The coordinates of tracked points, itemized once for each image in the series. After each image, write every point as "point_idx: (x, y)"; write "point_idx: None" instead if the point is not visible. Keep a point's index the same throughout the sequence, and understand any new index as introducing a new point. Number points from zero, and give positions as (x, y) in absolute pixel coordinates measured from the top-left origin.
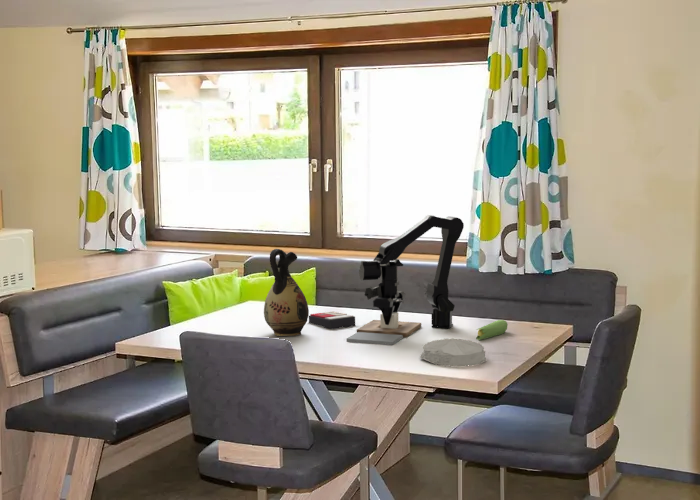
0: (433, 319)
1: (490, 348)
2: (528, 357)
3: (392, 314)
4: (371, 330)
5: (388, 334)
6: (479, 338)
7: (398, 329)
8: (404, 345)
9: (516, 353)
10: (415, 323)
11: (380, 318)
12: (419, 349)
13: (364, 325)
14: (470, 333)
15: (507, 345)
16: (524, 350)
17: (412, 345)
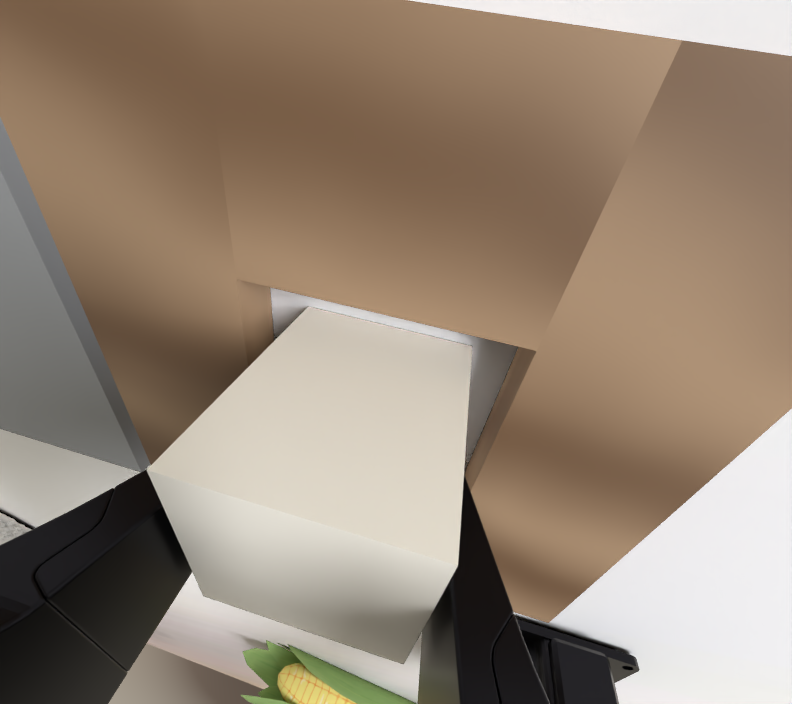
0: (546, 694)
1: (185, 629)
2: (149, 644)
3: (242, 594)
4: (53, 239)
5: (93, 395)
6: (250, 653)
7: None
8: (20, 449)
9: (169, 644)
10: (518, 594)
11: (207, 408)
12: (15, 490)
13: (308, 13)
14: (384, 663)
15: (242, 660)
16: (208, 661)
17: (50, 477)
